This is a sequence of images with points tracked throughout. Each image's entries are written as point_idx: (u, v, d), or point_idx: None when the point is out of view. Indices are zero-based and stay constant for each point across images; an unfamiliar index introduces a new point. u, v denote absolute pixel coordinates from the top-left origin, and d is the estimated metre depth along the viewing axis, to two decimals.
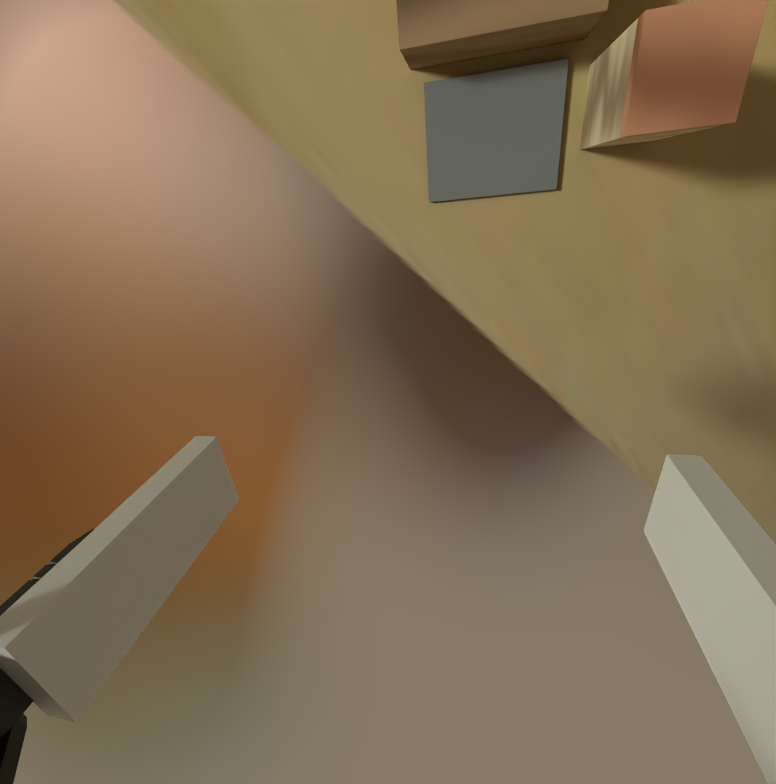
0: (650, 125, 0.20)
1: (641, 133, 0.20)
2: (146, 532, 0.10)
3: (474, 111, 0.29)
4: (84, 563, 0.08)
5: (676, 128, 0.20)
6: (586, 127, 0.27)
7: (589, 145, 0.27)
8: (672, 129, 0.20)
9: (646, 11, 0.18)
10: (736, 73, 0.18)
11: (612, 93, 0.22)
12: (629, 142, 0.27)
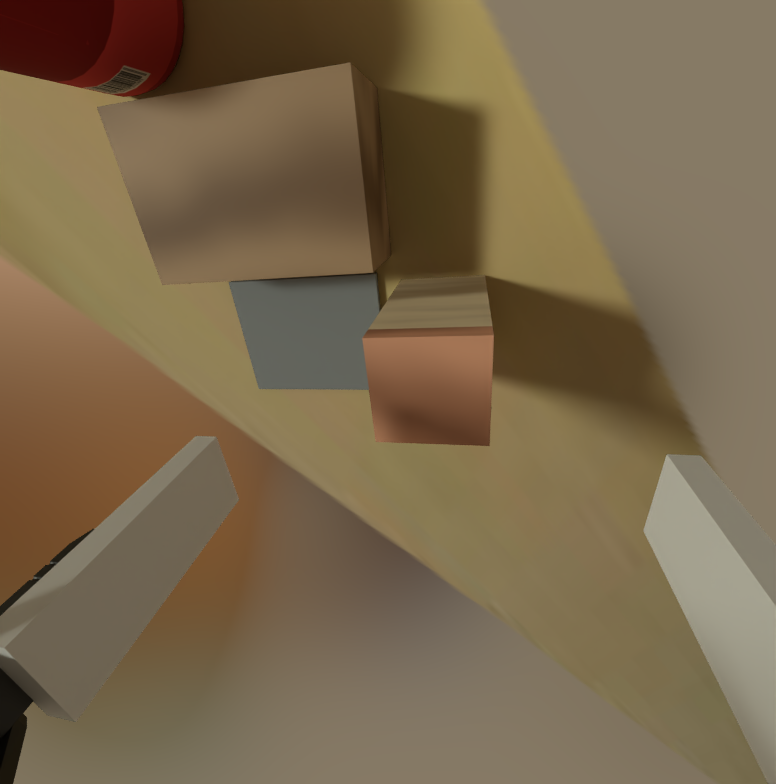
0: (399, 436, 0.17)
1: (392, 440, 0.17)
2: (147, 531, 0.10)
3: (287, 313, 0.26)
4: (84, 563, 0.08)
5: (427, 442, 0.17)
6: None
7: None
8: (424, 442, 0.17)
9: (363, 339, 0.15)
10: (477, 405, 0.16)
11: None
12: None
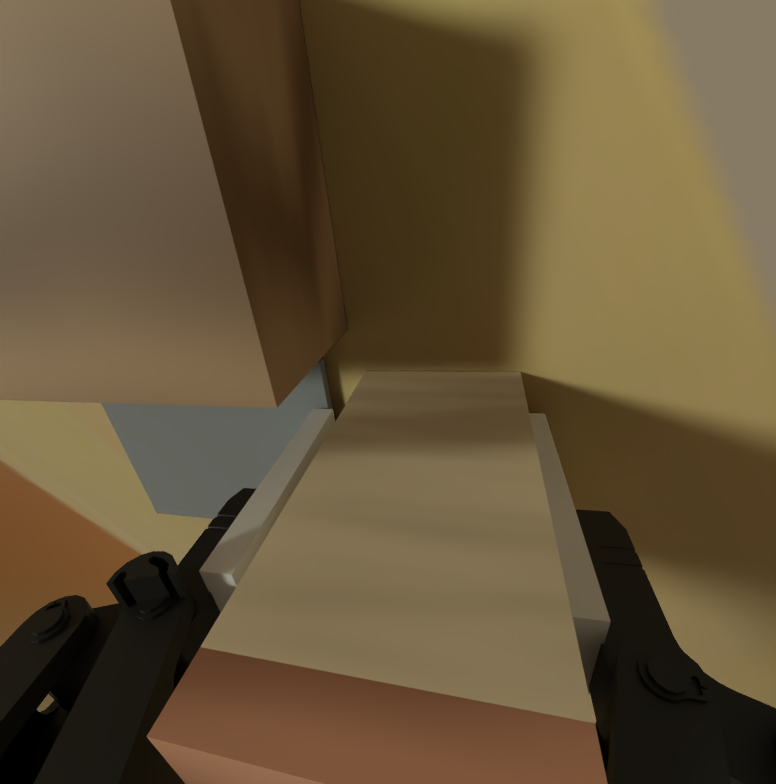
0: None
1: None
2: None
3: (180, 414, 0.15)
4: (265, 511, 0.09)
5: None
6: None
7: None
8: None
9: (152, 737, 0.04)
10: None
11: None
12: None
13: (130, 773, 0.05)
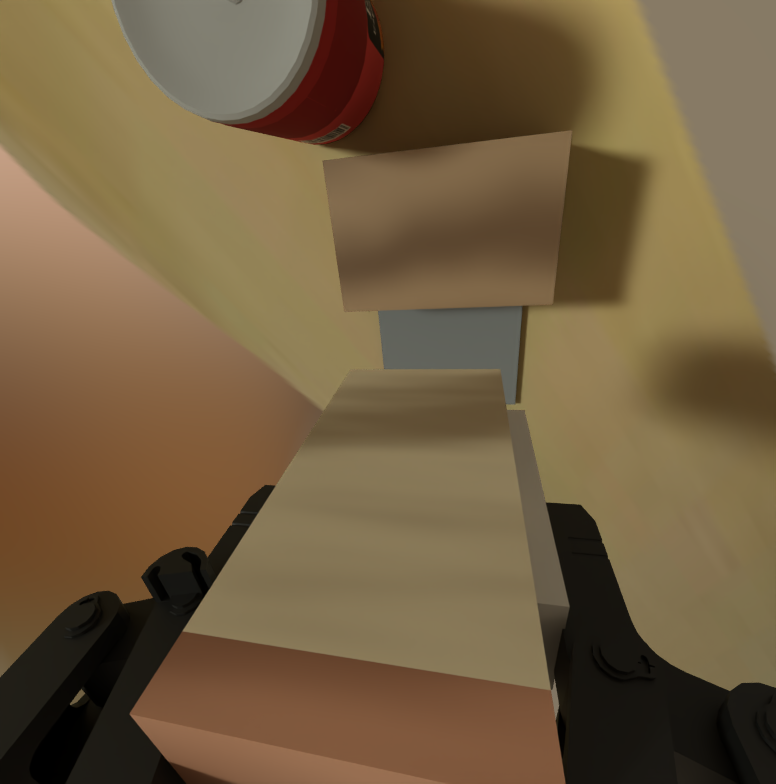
0: None
1: None
2: None
3: (429, 334, 0.28)
4: None
5: None
6: None
7: None
8: None
9: (135, 714, 0.05)
10: None
11: None
12: None
13: (162, 771, 0.05)
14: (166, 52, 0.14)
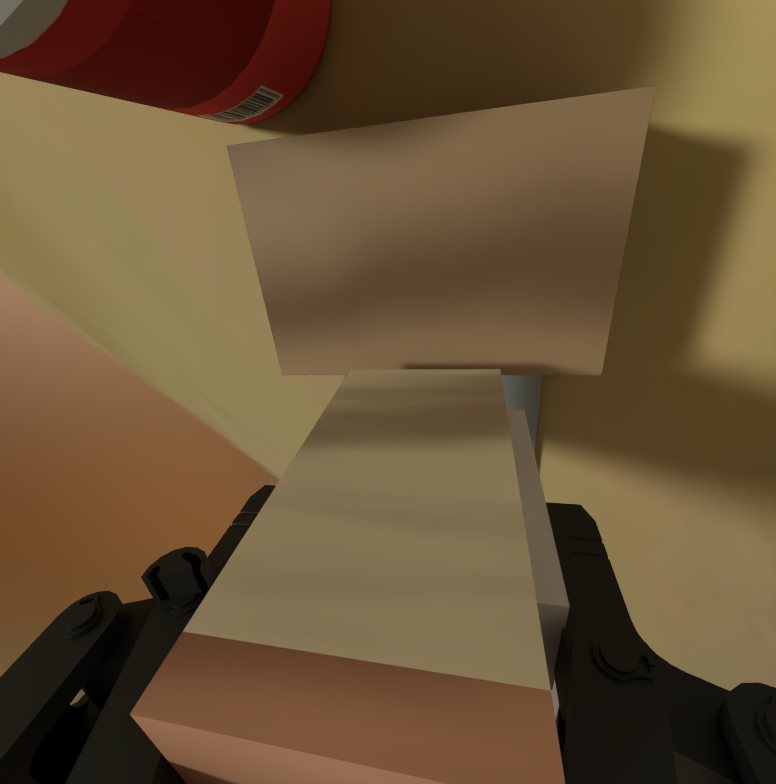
0: None
1: None
2: None
3: None
4: None
5: None
6: None
7: None
8: None
9: (135, 714, 0.05)
10: None
11: None
12: None
13: (162, 771, 0.05)
14: None
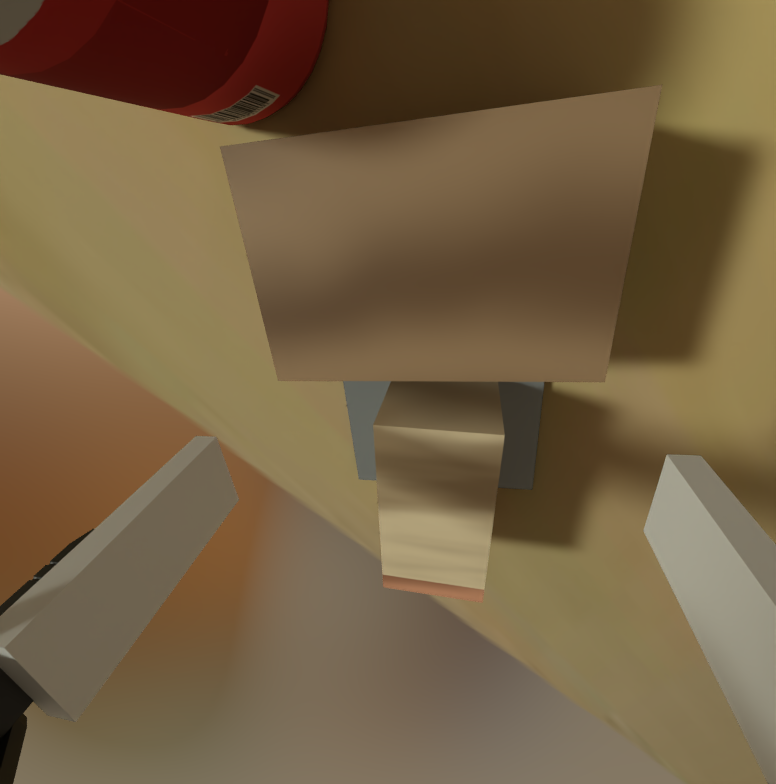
0: None
1: None
2: (146, 532, 0.10)
3: None
4: (84, 563, 0.08)
5: None
6: None
7: None
8: None
9: (384, 586, 0.20)
10: None
11: None
12: None
13: None
14: None
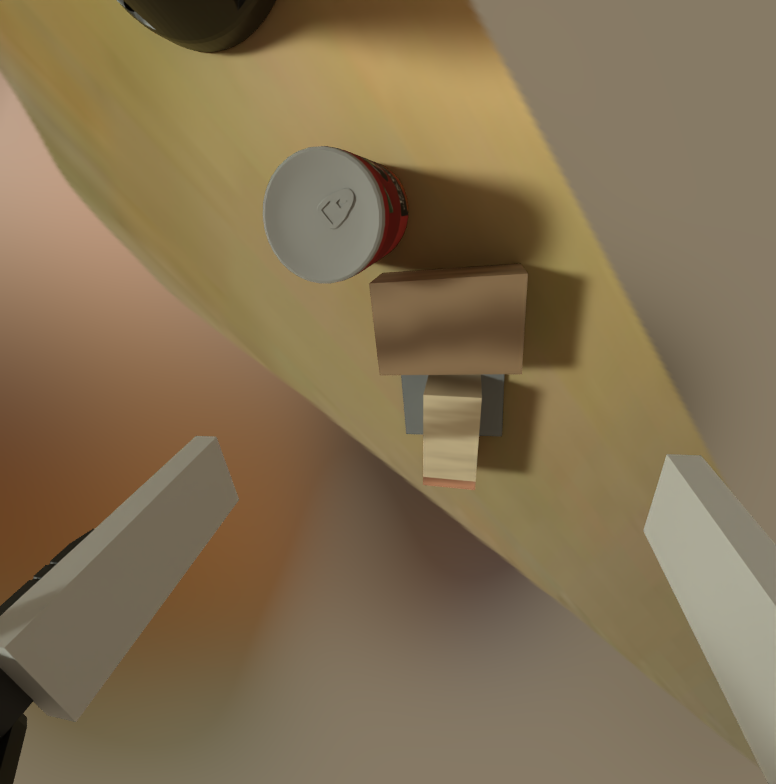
0: None
1: None
2: (146, 532, 0.10)
3: None
4: (84, 563, 0.08)
5: None
6: None
7: None
8: None
9: (423, 484, 0.38)
10: None
11: None
12: None
13: None
14: (290, 248, 0.25)
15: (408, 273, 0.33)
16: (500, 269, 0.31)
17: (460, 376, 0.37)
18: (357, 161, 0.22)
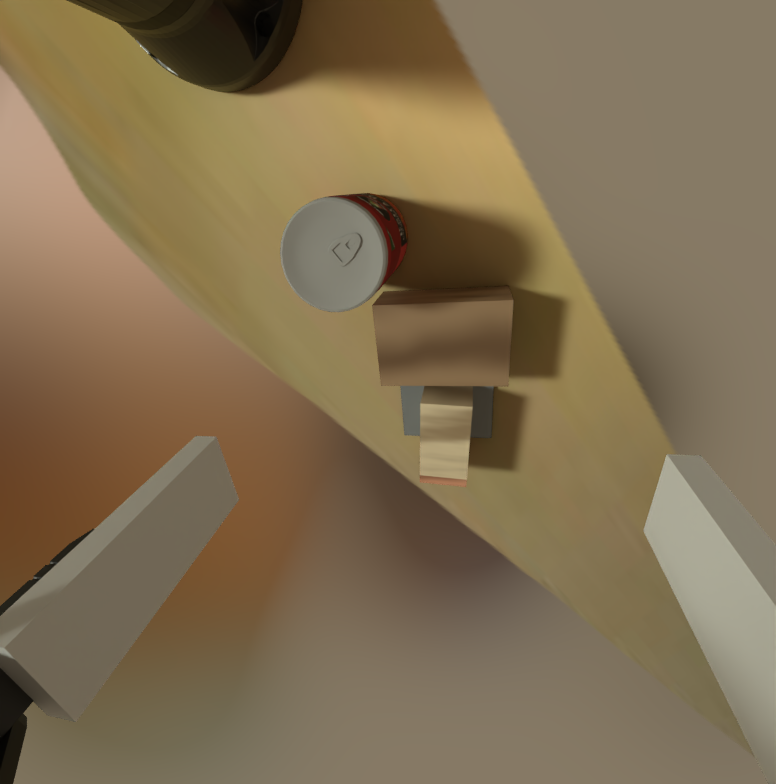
0: None
1: None
2: (146, 532, 0.10)
3: None
4: (84, 563, 0.08)
5: None
6: None
7: None
8: None
9: (420, 481, 0.42)
10: None
11: None
12: None
13: None
14: (304, 281, 0.28)
15: (407, 293, 0.37)
16: (490, 293, 0.34)
17: None
18: (364, 211, 0.25)
